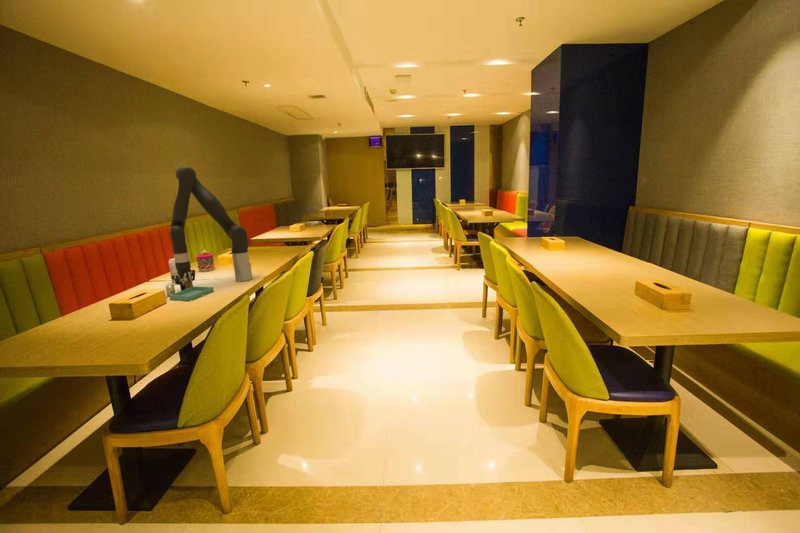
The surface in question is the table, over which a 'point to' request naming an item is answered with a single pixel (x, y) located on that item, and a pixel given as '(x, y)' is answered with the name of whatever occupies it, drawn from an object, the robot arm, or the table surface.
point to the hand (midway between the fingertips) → (187, 289)
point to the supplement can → (173, 269)
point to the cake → (205, 261)
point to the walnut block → (188, 284)
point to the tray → (191, 293)
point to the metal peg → (170, 290)
